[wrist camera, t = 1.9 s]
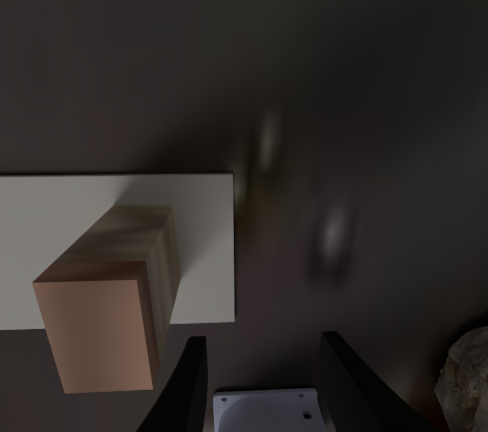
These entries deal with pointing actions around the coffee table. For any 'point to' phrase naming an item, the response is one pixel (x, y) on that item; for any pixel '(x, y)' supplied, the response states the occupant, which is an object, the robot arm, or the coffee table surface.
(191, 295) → the grey mat
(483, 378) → the rock
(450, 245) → the coffee table surface
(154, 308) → the wooden block
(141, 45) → the coffee table surface
